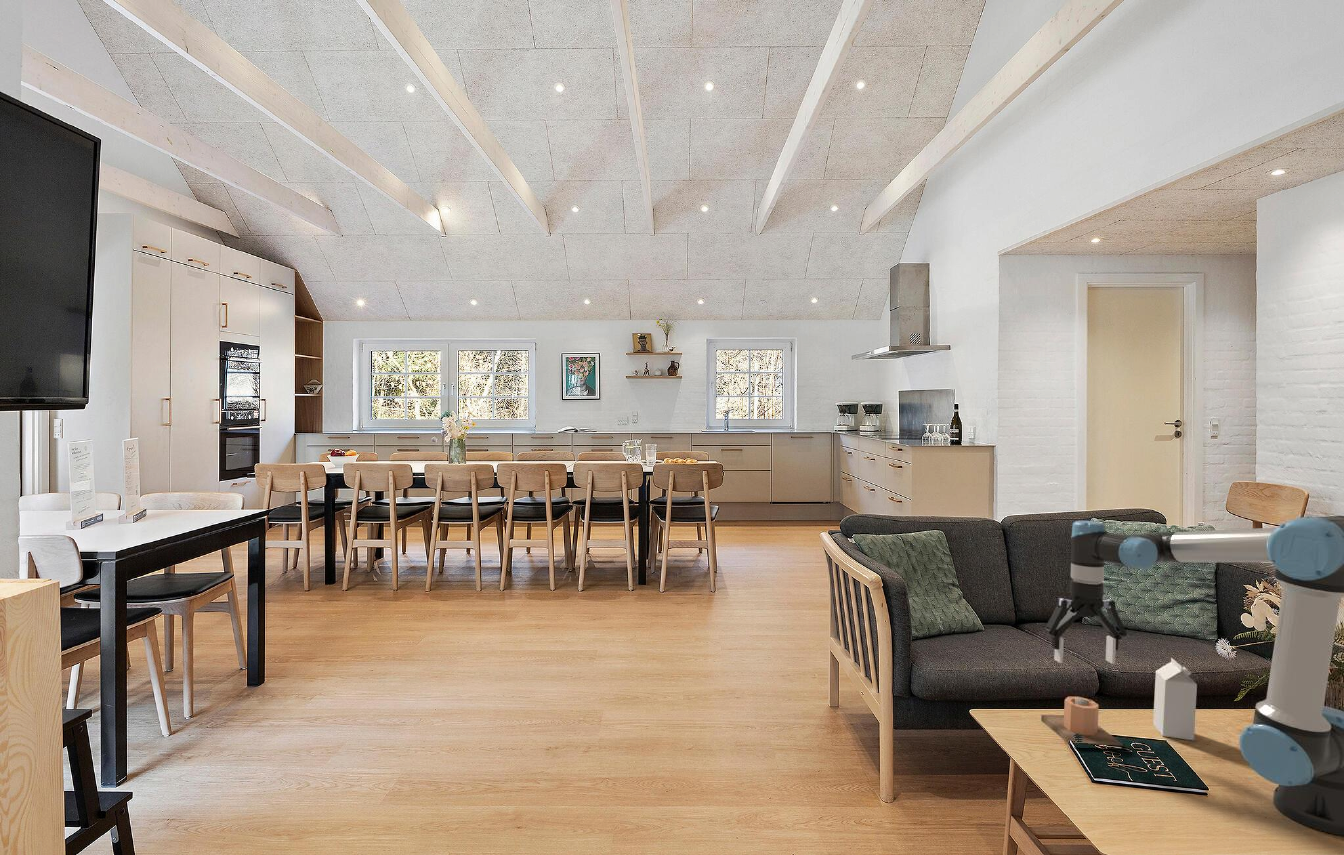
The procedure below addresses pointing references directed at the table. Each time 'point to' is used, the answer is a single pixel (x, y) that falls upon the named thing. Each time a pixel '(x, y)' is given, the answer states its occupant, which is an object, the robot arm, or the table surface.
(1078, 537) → the robot arm
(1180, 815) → the table surface
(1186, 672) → the milk carton
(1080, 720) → the ring
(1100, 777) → the table surface
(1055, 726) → the block
